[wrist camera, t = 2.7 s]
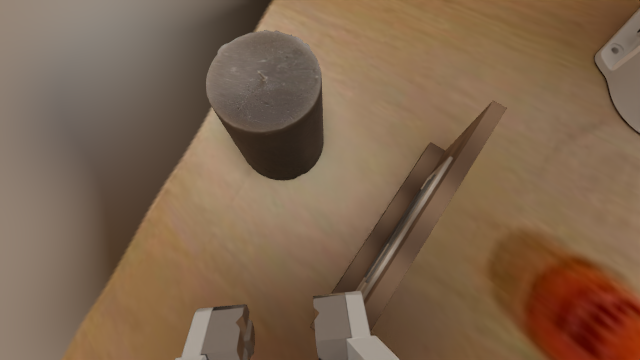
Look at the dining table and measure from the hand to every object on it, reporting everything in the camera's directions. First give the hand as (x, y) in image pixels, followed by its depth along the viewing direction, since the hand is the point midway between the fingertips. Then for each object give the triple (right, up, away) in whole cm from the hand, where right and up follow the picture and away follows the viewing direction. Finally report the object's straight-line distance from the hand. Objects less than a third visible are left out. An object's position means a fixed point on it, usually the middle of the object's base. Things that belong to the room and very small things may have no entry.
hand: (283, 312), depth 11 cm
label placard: (+9, -3, +27) cm, 29 cm away
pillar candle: (-3, +9, +31) cm, 32 cm away
